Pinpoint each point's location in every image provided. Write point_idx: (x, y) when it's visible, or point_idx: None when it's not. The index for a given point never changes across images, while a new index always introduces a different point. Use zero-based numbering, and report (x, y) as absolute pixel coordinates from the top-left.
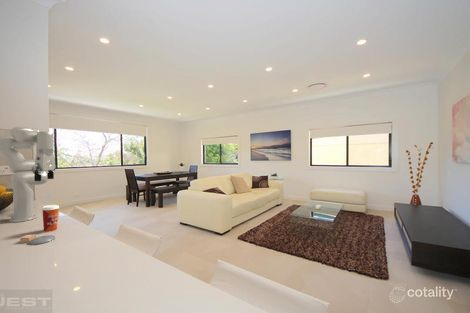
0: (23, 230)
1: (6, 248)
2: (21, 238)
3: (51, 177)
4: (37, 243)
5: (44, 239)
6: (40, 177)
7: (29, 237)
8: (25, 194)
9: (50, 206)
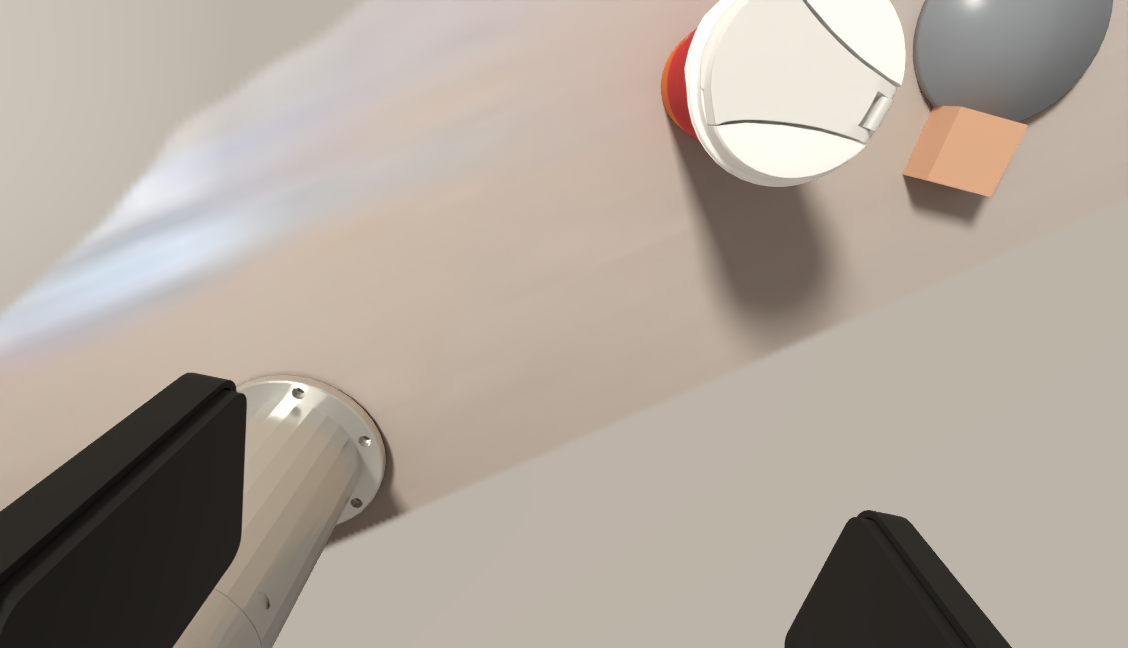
0: (637, 307)
1: (1045, 225)
2: (991, 186)
3: (210, 460)
4: (1107, 25)
5: (1034, 3)
6: (986, 630)
7: (1022, 125)
8: (213, 628)
9: (829, 74)
